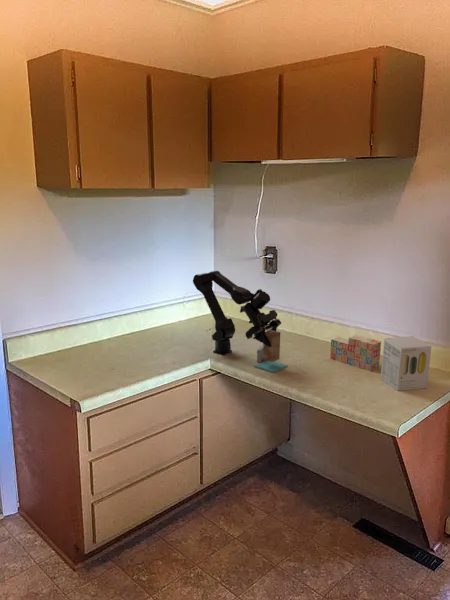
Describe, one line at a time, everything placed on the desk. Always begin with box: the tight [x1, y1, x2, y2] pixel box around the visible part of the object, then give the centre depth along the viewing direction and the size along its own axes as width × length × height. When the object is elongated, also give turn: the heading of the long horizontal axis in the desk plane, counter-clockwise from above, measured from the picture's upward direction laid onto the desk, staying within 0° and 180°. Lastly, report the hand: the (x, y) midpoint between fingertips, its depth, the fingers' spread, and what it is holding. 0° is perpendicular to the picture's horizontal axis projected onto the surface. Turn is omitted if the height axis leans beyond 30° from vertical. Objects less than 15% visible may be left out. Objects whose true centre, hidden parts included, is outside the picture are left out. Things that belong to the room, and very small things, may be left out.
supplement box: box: [380, 335, 432, 391], centre depth 214 cm, size 13×13×18 cm
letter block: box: [262, 330, 281, 362], centre depth 230 cm, size 5×5×12 cm
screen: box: [256, 344, 264, 363], centre depth 243 cm, size 2×13×6 cm, turn 159°
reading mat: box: [254, 360, 288, 374], centre depth 232 cm, size 10×10×1 cm
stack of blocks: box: [329, 334, 382, 372], centre depth 237 cm, size 21×6×12 cm, turn 43°
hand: (274, 345), depth 229 cm, fingers closed on letter block, 5 cm apart
